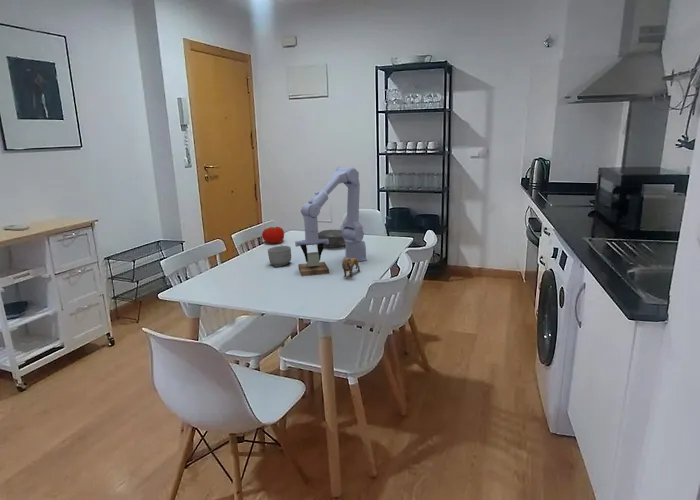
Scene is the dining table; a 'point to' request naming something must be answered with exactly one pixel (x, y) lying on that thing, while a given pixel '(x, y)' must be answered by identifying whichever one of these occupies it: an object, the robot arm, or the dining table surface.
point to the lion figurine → (350, 265)
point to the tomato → (273, 235)
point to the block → (313, 259)
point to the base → (313, 269)
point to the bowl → (332, 237)
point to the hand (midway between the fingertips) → (313, 260)
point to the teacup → (279, 255)
